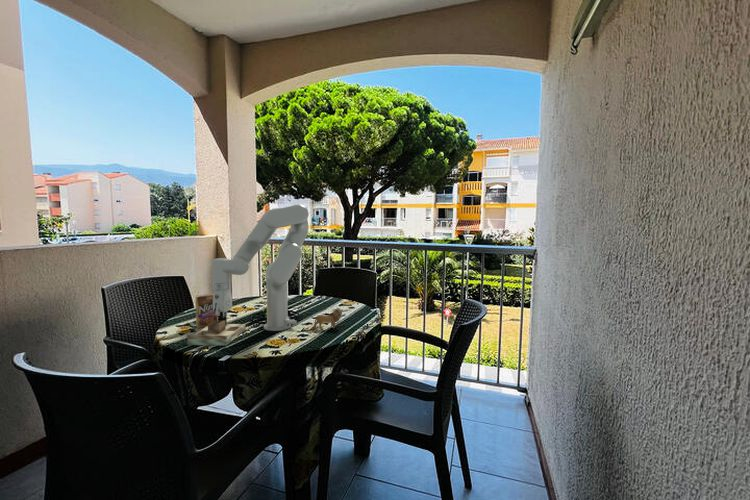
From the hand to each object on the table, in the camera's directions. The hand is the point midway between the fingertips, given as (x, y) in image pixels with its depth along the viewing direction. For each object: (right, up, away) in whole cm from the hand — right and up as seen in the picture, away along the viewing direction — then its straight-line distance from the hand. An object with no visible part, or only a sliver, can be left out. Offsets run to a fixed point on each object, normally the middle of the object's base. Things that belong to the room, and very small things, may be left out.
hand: (222, 325), depth 162 cm
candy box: (-12, -3, +10) cm, 16 cm away
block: (0, -1, -5) cm, 5 cm away
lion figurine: (+46, -3, +10) cm, 48 cm away
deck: (0, -4, -5) cm, 6 cm away
